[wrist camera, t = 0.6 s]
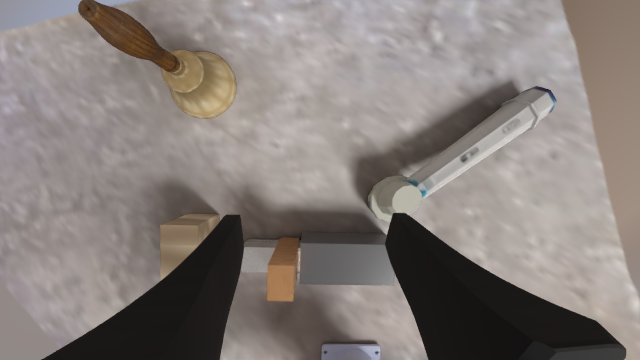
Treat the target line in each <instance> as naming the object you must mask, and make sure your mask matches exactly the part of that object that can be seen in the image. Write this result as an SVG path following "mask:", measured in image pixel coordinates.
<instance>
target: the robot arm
mask: <svg viewBox="0 0 640 360" xmlns="http://www.w3.org/2000/svg"><path fill="white" fill-rule="evenodd" d="M385 247H386V250H387V254H388V257H389V260H390V263H391V266H392V268H393V270H394V272H395V275H396V277H397V279H398V281H399V283H400V286H401V288H402V290H403V292H404V294H405V297H406V299H407V301H408V303H409V305H410V308H411V310H412V312H413V315H414V317H415V320H416V323H417V326H418V329H419V332H420V335H421V338H422V341H423V344H424V347H425V350H426V353H427V357H428V360H624V359H625V357H626V348H625V347H624V346H623V345H622V344H620V343H619V342H618V341H617V340H616V339H615V338H614V337H613V336H612V335H611V334H610V333H609V332H608V331H607V330H606V329H605V328H603V327H602V326H601V325H600V324H599V323H598V322H597V321H595V320H592V319H590V318H587V317H585V316H582V315H580V314H577V313H575V312H572V311H570V310H568V309H565V308H563V307H560V306H558V305H555V304H553V303H551V302H548V301H546V300H544V299H542V298H540V297H537V296H535V295H533V294H531V293H529V292H527V291H525V290H523V289H521V288H519V287H517V286H515V285H513V284H511V283H509V282H507V281H505V280H503V279H501V278H499V277H498V276H496V275H494V274H492V273H490V272H489V271H487V270H485V269H484V268H482V267H480V266H479V265H477V264H475V263H474V262H472V261H471V260H469V259H467V258H466V257H464V256H463V255H461V254H460V253H458V252H457V251H456V250H454V249H453V248H451V247H450V246H448V245H447V244H446V243H444V242H443V241H442V240H440V239H439V238H438V237H436V236H435V235H434V234H432V233H431V232H430V231H428V230H427V229H426V228H425V227H423V226H422V225H421V224H419V223H418V222H417V221H416V220H414V219H413V218H412V217H410V216H409V215H407V214H406V213H393V215H392V218H391V222H390V226H389V230H388V234H387V238H386V241H385ZM243 253H244V243H243V234H242V226H241V218H240V215H226V216H224V217H223V219H222V220H221V221H220V222H219V223H218V224H217V226H216V227H215V228H214V229H213V230H212V231H211V232H210V234H209V235H208V236H207V237H206V238H205V239H204V240H203V241H202V242H201V243H200V244H199V246H198V247H197V248H196V249H195V250H194V251H193V252H192V253H191V254H190V255H189V256H188V257H187V258H186V259H185V260H183V261H182V262H181V263H180V264H179V265H178V266H177V267H176V268H175V269H174V270H173V271H172V272H171V273H169V274H168V275H167V276H166V277H165V278H164V279H162V280H161V281H160V282H159V283H158V284H156V285H155V286H154V287H153V288H151V289H150V290H149V291H147V292H146V293H145V294H143V295H142V296H141V297H139V298H138V299H137V300H135V301H134V302H132V303H131V304H130V305H128V306H127V307H126V308H124V309H123V310H121V311H120V312H118V313H117V314H115V315H114V316H112V317H111V318H109V319H108V320H106V321H105V322H103V323H102V324H100V325H99V326H97V327H96V328H94V329H92V330H91V331H89V332H88V333H86V334H84V335H83V336H81V337H79V338H78V339H76V340H74V341H73V342H71V343H69V344H68V345H66V346H64V347H62V348H61V349H59V350H57V351H56V352H54V353H53V354H51V355H49V356H47V357H46V358H44V359H42V360H220V354H221V348H222V343H223V337H224V332H225V327H226V323H227V318H228V315H229V311H230V307H231V304H232V300H233V297H234V293H235V289H236V286H237V282H238V278H239V275H240V271H241V266H242V260H243ZM324 351H327V352H324ZM376 351H378V352H376ZM321 360H380V346H379V345H378V344H323V345H322V356H321Z"/></svg>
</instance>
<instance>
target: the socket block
mask: <svg viewBox="0 0 640 360" xmlns="http://www.w3.org/2000/svg"><path fill="white" fill-rule="evenodd" d="M218 223H219V214H186V215H184V216H181V217H179V218H176V219H173V220H171V221H168V222H166V223H163V224H161V225H160V260H161V280H162V279H164V278H165V277H166V276H167V275H168V274H169V273H171V272H172V271H173V270H174V269H175V268H176V267H177V266H178V265H179V264H180V263H181V262H182V261H183V260H185V259H186V258H187V257H188V256H189V255H190V254H191V253H192V252H193V251H194V250H195V249H196V248H197V247H198V246H199V244H200V243H201V242H202V241H203V240H204V239H205V238H206V237H207V236H208V235H209V234H210V232H211V231H212V230H213V229H214V228H215V227H216V226H217V224H218Z"/></svg>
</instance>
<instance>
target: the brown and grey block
mask: <svg viewBox="0 0 640 360" xmlns="http://www.w3.org/2000/svg"><path fill="white" fill-rule="evenodd" d="M300 247H301V240H300V238H287V237H280V239H279V240H258V239H248V240H247V241H246V242H245V243H244V253H243V260H242V266H241V272H267V301H293V300H294V293H295V287H296V280H297V274H298V273H300Z"/></svg>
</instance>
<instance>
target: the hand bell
mask: <svg viewBox="0 0 640 360" xmlns="http://www.w3.org/2000/svg"><path fill="white" fill-rule="evenodd" d="M78 11H79V13H80V15H81V16H82V17H83V18H84V19H85V20H87V21H88V22H89V23H90V24H91V25H92V26H93V27H94V29H95V30H96V31H97V32H98V33H99V34H100V35H101V36H102V37H103V38H104V39H105V40H106V41H107V42H108V43H110V44H111V45H112V46H114V47H116V48H117V49H119V50H121V51H123V52H125V53H127V54H129V55H131V56H134V57H136V58H140V59H146V60H150V61H152V62H154V63H155V64H157V65H158V66H160V67H161V68H162V69H161V71H162V76H163V79H164V81H165V82H166V84H167V85H168V86H169V87H170V90H171V94H172V96H173V99H174V101H175V102H176V104H177V105H178V106H179V107H180V108H181V109H182V110H183V111H184V112H185V113H187V114H189V115H191V116H193V117H196V118H202V119H208V118H213V117H216V116H219V115H221V114H222V113H224V112H225V111H226V110H227V109H228V108H229V107H230V105H231V104H232V102H233V100H234V98H235V94H236V79H235V75H234V73H233V71H232V69H231V67H230V66H229V65H228V63H227V62H226V61H224V60H223V59H222V58H221V57H219V56H217V55H215V54H213V53H209V52H193V53H192V52H190V51H187V50H176V51H173V52H171V53H169V52H168V51H166V50H165V49H163V48H162V47H160V46H159V45H158V43H157V42H156V40H155V39H154V37H153V36H152V35H151V33H150V32H149V31H148V30H147V29H146V28H145V27H144V26H142V25H141V24H140V23H139V22H138V21H136V20H135V19H134V18H132V17H131V16H129V15H128V14H126V13H124V12H122V11H120V10H118V9H115V8H113V7H109V6H106V5H103V4H100V3H98V2H96V1H94V0H82V1H81V2H80V4H79V8H78Z"/></svg>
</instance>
